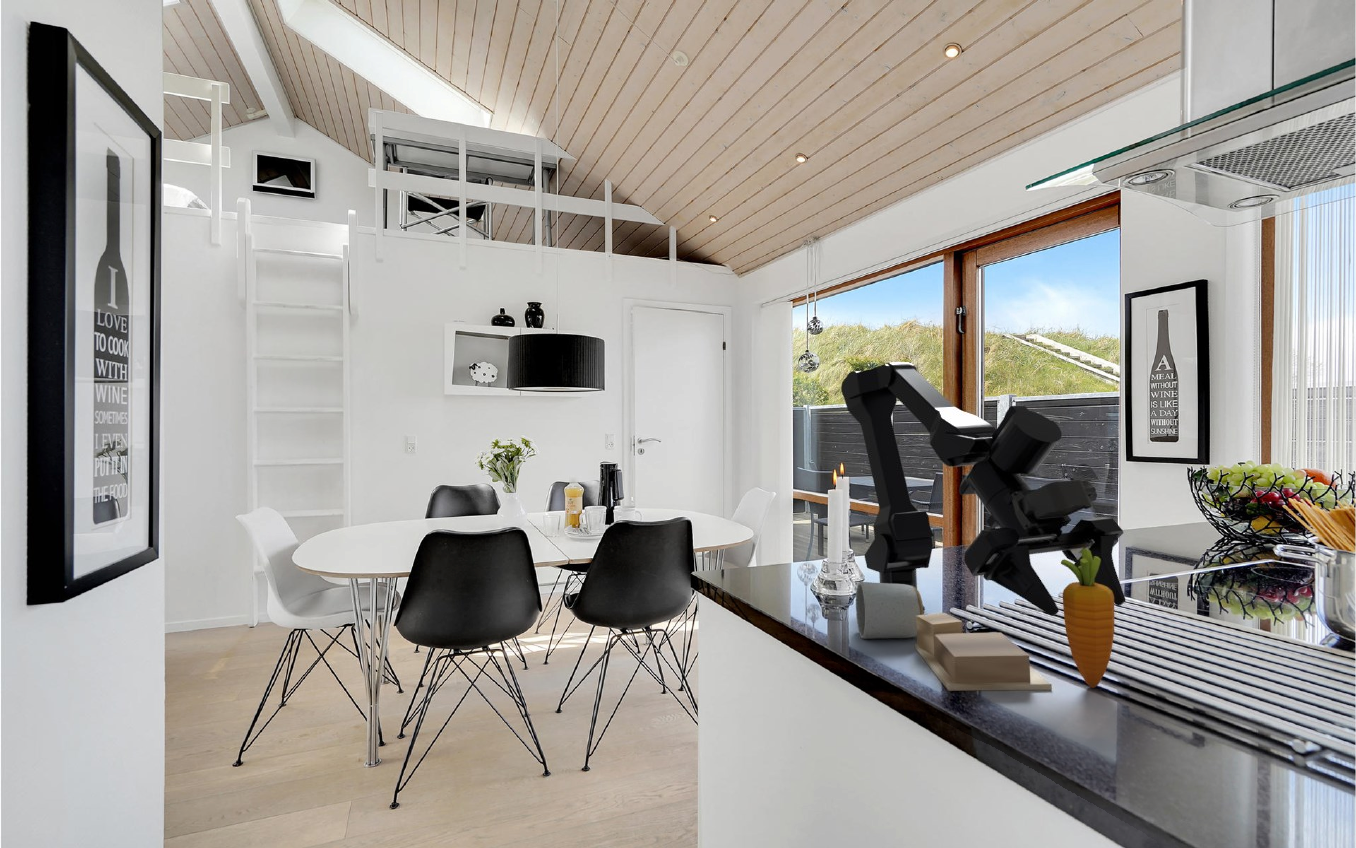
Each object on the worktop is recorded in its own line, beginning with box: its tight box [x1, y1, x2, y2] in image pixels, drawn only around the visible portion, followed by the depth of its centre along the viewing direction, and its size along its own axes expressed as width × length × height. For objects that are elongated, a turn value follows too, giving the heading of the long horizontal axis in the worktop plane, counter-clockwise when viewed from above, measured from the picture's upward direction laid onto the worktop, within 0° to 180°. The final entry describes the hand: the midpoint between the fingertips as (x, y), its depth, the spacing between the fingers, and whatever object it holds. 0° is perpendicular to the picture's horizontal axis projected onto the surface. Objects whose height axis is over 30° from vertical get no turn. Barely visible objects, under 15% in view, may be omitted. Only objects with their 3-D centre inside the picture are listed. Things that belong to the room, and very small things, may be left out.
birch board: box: [914, 643, 1053, 692], centre depth 80 cm, size 14×11×1 cm
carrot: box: [1060, 549, 1115, 689], centre depth 73 cm, size 5×5×15 cm
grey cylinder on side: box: [855, 581, 925, 640], centre depth 94 cm, size 11×8×8 cm
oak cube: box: [916, 612, 964, 656], centre depth 85 cm, size 4×4×4 cm
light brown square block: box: [934, 632, 1031, 683], centre depth 78 cm, size 8×8×3 cm
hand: (1089, 608), depth 73 cm, fingers open, 9 cm apart
